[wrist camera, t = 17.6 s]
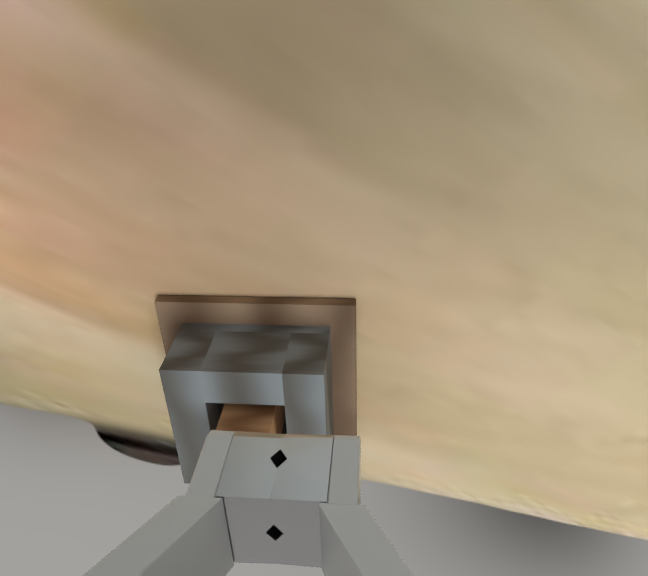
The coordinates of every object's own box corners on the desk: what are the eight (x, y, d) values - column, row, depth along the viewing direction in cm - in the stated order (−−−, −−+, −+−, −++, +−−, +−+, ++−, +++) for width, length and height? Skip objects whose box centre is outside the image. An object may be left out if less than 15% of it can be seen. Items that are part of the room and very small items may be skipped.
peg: (283, 372, 48) (262, 466, 40) (286, 408, 50) (267, 506, 42) (235, 370, 49) (204, 464, 40) (240, 406, 51) (212, 503, 42)
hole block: (356, 298, 46) (351, 353, 41) (356, 444, 55) (353, 507, 49) (158, 295, 48) (126, 347, 42) (188, 437, 56) (165, 498, 50)
